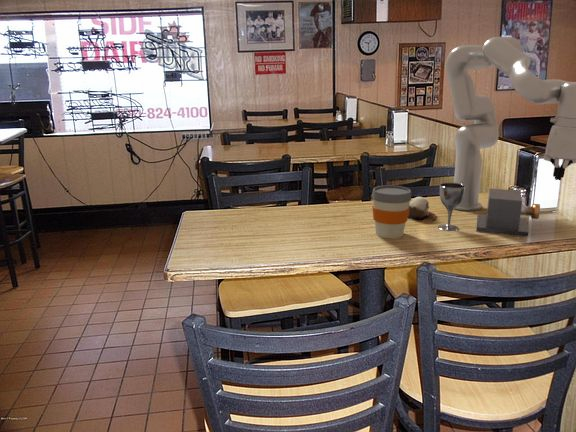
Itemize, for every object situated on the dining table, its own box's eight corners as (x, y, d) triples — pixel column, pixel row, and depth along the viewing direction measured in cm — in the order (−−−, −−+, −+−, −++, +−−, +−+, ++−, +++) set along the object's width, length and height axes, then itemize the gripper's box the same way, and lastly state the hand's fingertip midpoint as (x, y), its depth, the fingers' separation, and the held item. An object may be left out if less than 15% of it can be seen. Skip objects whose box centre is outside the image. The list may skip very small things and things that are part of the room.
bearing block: (476, 231, 181) (479, 198, 178) (477, 217, 195) (480, 187, 192) (528, 236, 176) (532, 202, 172) (525, 222, 190) (529, 190, 187)
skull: (409, 207, 206) (428, 190, 199) (426, 228, 203) (445, 212, 197) (394, 213, 197) (413, 196, 190) (411, 235, 194) (431, 219, 188)
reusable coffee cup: (363, 230, 182) (364, 187, 178) (394, 226, 187) (397, 183, 182) (383, 242, 171) (386, 196, 167) (416, 237, 176) (419, 192, 171)
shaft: (487, 216, 184) (488, 202, 182) (487, 212, 188) (488, 198, 187) (538, 220, 179) (540, 206, 177) (537, 216, 183) (539, 202, 182)
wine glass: (462, 225, 187) (466, 183, 182) (458, 232, 180) (463, 188, 175) (438, 223, 190) (442, 181, 185) (434, 229, 183) (438, 186, 179)
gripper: (543, 122, 169) (533, 179, 175) (597, 126, 164) (585, 184, 170) (541, 119, 176) (532, 174, 182) (593, 122, 171) (581, 178, 177)
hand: (557, 178), depth 176 cm, fingers closed
